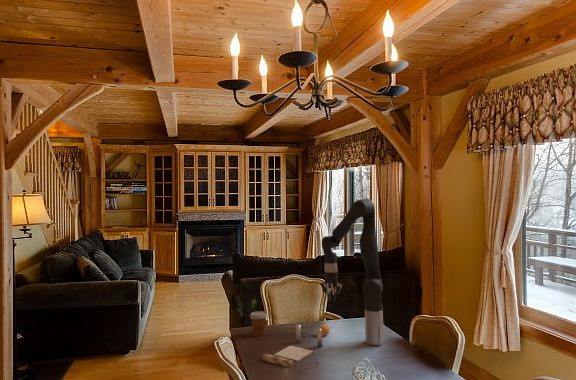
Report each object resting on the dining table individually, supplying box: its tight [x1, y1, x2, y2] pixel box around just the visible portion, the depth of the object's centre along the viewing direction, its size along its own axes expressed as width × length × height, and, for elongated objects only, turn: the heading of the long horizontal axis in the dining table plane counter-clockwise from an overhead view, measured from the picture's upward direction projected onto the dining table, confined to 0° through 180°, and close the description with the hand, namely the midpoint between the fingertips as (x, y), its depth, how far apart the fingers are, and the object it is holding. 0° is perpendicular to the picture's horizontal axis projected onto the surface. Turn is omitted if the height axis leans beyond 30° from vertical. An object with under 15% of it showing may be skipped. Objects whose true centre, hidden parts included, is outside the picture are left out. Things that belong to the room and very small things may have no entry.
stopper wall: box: [262, 353, 294, 368], centre depth 191 cm, size 16×2×2 cm, turn 55°
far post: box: [295, 323, 302, 344], centre depth 217 cm, size 3×3×9 cm
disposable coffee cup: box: [249, 310, 268, 337], centre depth 230 cm, size 10×10×12 cm
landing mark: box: [273, 345, 314, 362], centre depth 202 cm, size 14×14×1 cm
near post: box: [316, 327, 323, 349], centre depth 210 cm, size 3×3×9 cm
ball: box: [318, 323, 330, 337], centre depth 227 cm, size 6×6×6 cm
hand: (331, 300), depth 235 cm, fingers open, 2 cm apart
